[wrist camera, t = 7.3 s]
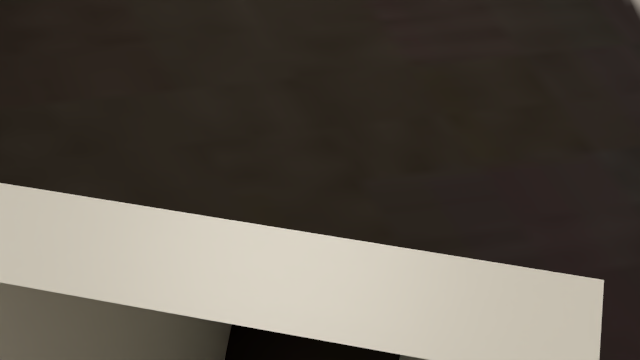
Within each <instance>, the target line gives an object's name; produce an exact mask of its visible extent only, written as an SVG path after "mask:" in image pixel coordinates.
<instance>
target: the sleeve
mask: <svg viewBox="0 0 640 360" xmlns="http://www.w3.org/2000/svg"><path fill="white" fill-rule="evenodd" d="M603 286H604V280H600V279H594V278H588V277H582V276H575V275H569V274H563V273H557V272H550V271H544V270H538V269H532V268H526V267H519V266H513V265H507V264H501V263H495V262H488V261H482V260H476V259H470V258H463V257H457V256H451V255H445V254H439V253H432V252H426V251H420V250H414V249H407V248H401V247H395V246H389V245H383V244H376V243H370V242H364V241H358V240H351V239H345V238H339V237H333V236H327V235H320V234H314V233H308V232H302V231H296V230H289V229H283V228H277V227H271V226H264V225H258V224H252V223H246V222H240V221H233V220H227V219H221V218H215V217H208V216H202V215H196V214H190V213H184V212H177V211H171V210H165V209H159V208H153V207H146V206H140V205H134V204H128V203H121V202H115V201H109V200H103V199H97V198H90V197H84V196H78V195H72V194H65V193H59V192H53V191H47V190H41V189H34V188H28V187H22V186H16V185H9V184H3V183H0V360H225V356H226V351H227V346H228V341H229V336H230V331H231V326H232V324H234V325H239V326H245V327H250V328H256V329H261V330H267V331H272V332H278V333H284V334H289V335H295V336H300V337H306V338H311V339H317V340H322V341H328V342H333V343H339V344H345V345H350V346H356V347H361V348H367V349H372V350H378V351H383V352H389V353H394V354H400V358H399V360H599V355H600V338H601V321H602V304H603Z"/></svg>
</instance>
